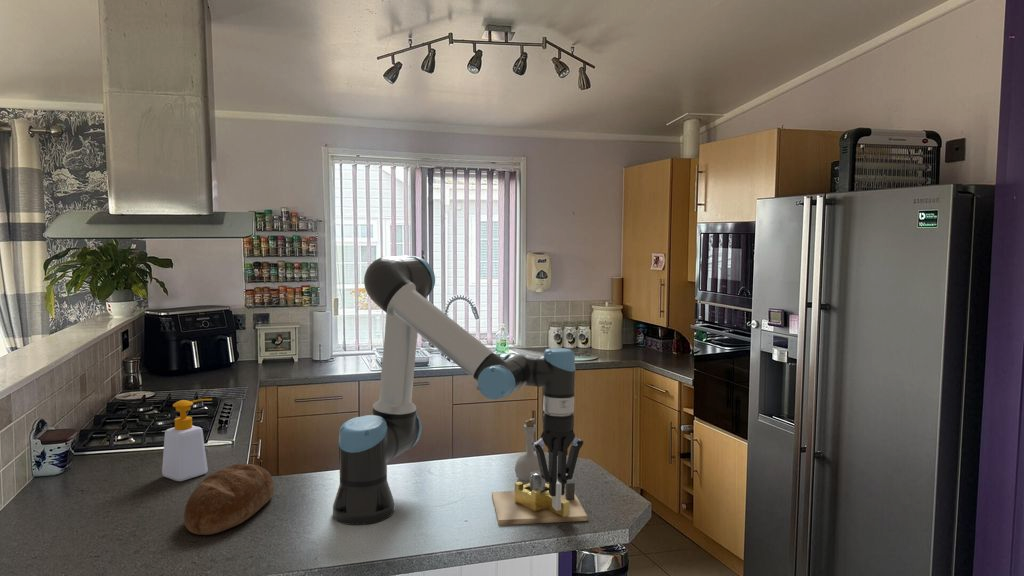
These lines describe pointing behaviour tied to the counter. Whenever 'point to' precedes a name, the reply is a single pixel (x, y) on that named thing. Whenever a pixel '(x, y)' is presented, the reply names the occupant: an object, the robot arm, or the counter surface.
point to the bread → (227, 498)
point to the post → (537, 481)
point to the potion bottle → (527, 455)
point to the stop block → (570, 490)
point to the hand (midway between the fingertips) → (556, 508)
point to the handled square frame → (539, 499)
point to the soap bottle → (184, 447)
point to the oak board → (531, 511)
